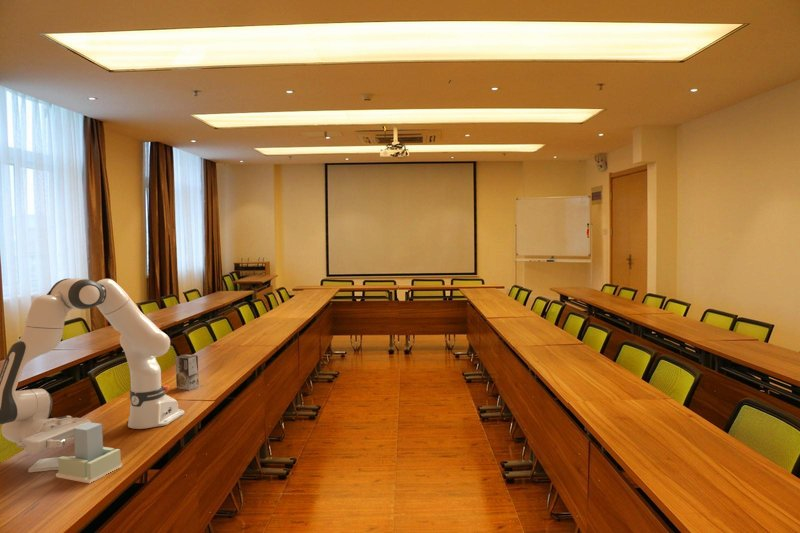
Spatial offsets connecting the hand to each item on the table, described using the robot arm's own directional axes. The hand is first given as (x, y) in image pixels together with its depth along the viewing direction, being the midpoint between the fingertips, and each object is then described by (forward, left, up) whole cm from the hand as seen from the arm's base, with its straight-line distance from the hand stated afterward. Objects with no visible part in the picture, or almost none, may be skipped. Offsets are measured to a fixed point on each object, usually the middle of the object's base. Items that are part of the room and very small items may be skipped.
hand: (76, 437), depth 164 cm
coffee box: (-85, -30, -11) cm, 91 cm away
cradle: (0, +5, -11) cm, 12 cm away
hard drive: (0, -11, -11) cm, 16 cm away
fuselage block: (0, +5, -10) cm, 11 cm away
